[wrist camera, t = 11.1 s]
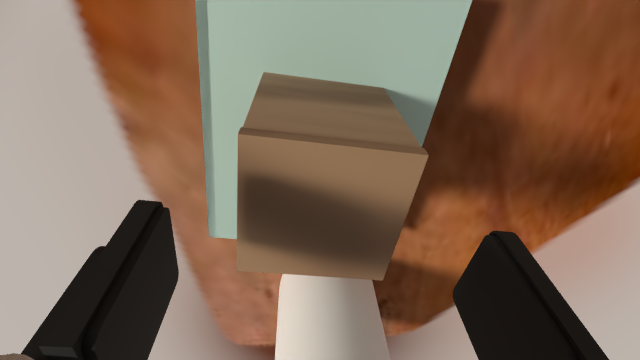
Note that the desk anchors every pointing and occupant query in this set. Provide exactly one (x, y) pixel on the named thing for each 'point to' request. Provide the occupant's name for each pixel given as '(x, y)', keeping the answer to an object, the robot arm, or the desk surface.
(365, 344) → the pill bottle
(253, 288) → the desk surface
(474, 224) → the desk surface
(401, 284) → the desk surface
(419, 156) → the walnut block
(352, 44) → the book
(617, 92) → the desk surface
